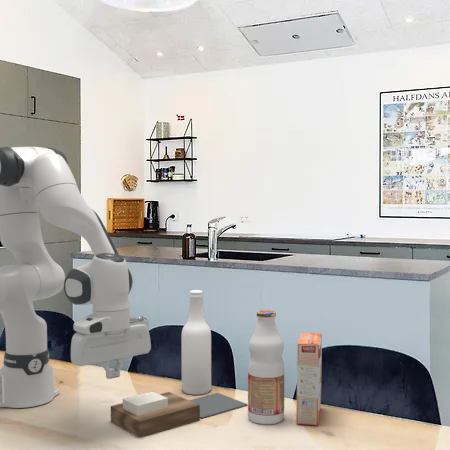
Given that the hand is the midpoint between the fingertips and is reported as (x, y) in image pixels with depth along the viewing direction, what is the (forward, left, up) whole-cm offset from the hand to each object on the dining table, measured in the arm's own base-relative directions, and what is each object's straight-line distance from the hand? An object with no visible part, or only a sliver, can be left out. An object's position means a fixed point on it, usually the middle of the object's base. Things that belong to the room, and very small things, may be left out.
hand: (113, 377), depth 144 cm
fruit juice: (+16, +35, -14) cm, 41 cm away
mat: (0, +30, -14) cm, 33 cm away
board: (-1, +12, -14) cm, 19 cm away
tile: (0, +9, -10) cm, 13 cm away
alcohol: (-14, +35, -14) cm, 40 cm away
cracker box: (+23, +45, -14) cm, 53 cm away
